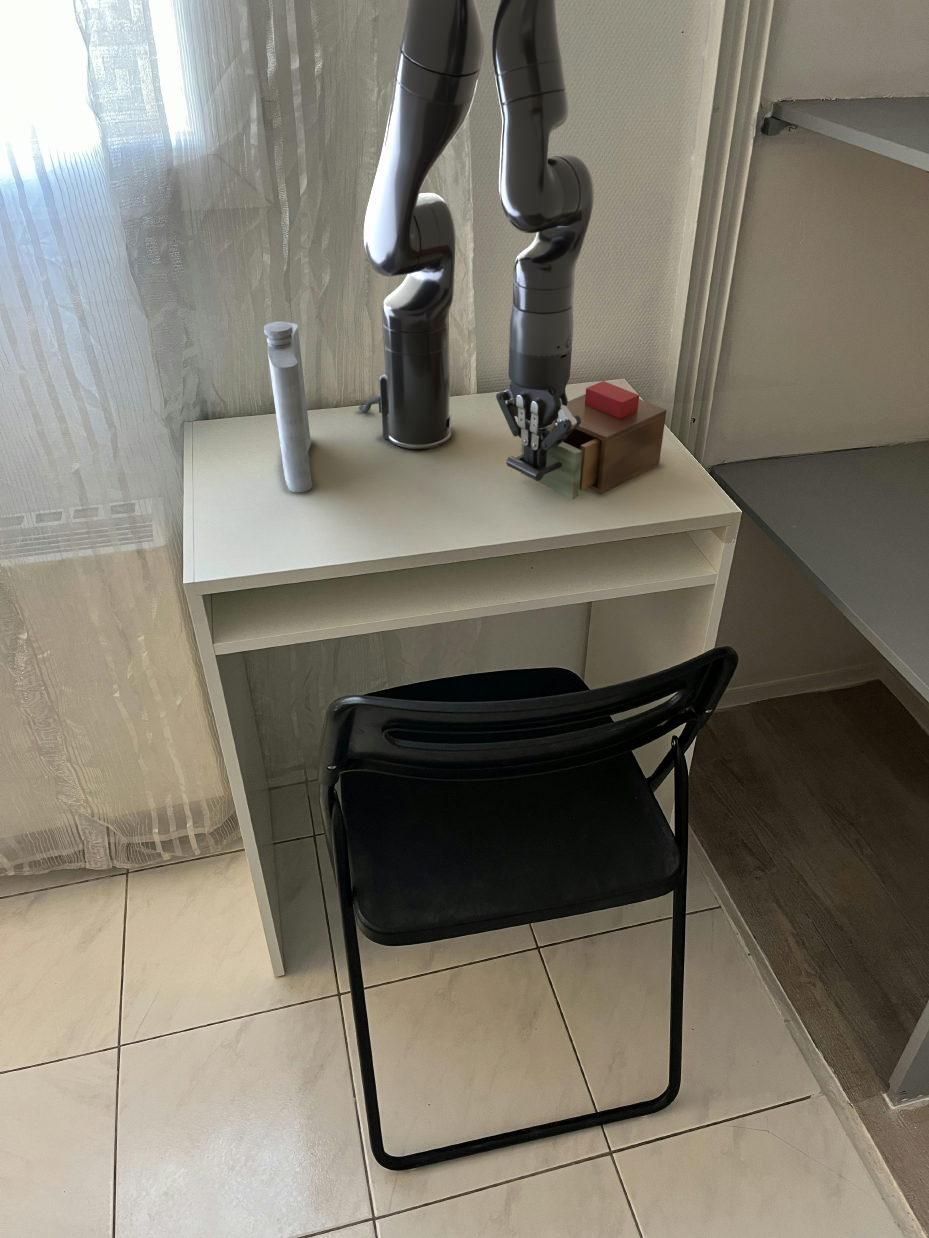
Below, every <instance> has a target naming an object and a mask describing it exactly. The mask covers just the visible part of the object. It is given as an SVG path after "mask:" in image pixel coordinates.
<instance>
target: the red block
mask: <svg viewBox="0 0 929 1238" xmlns="http://www.w3.org/2000/svg"><path fill="white" fill-rule="evenodd" d="M584 395H585V405H588V406H590V407H592V408H595V409H597V410H600V411H602V412H604V413H607V414H609V415H612V416H614V417H616V418H619V419H622V418H624V417H626V416H629V415H631V414H633V413H635V412H637V411H638V403H639V399H640V394H638V393H635V392H632V391H630V390H627V389H625V388H623V387H620V386H618V385H615V384H613V383H610V382H607V381H604V380H602V381H599V382H597V383H594V384H592V385H590V386H587V387H585V394H584Z"/></svg>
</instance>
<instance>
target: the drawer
mask: <svg viewBox="0 0 929 1238" xmlns="http://www.w3.org/2000/svg"><path fill="white" fill-rule="evenodd" d="M556 422H557V420H556ZM556 427H557V426H556V425H555V427H554V429H555V428H556ZM554 429H553V430H554ZM553 430H552V431H553ZM541 437H542V435H541ZM601 444H602V440H600V439H598V438H595V437H593V436H591V435H589V434H586V433H584V432H582V431H580V430H577V429H574V430H573V431H572V432H571V433H570V434H569V436H568V437H567V438H566V439H565V440H564V441H563V442H562V443H561V444H559V445H557V446H554V447H552V448H550V449H548V450H547V461H546V462H547V463H546V467H545V468H543V469H541V470H539V469H537V468H535V467H533V466H531V465H529V464H527V463H525V462H523V458H524V457H523V453H524V445H523V444H522V443H521V447H520V448H521V450H520V451H521V452H520V455H519V456H513V455H509V457H507V459H506V462H505V465H506V466H507V467H509V468H511V469H513V470H515V471H517V472H519V473H520V475H523V476H525V477H527V478H528V479H531V480H533V481H535V482H537V483H539V484H540V485H543V486H544V487H546V488H549V489H550V490H552V491H554V492H556V493H558V494H560V495H563V496H564V497H566V498H569V499H570V500H575V499H577V498H579V497H580V490H581V491H583V490H585V489H588V488H587V487H589V486H591V485H593V484H595V483H597V482H598V476H599V465H600V455H601Z"/></svg>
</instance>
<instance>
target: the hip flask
mask: <svg viewBox="0 0 929 1238" xmlns="http://www.w3.org/2000/svg"><path fill="white" fill-rule="evenodd" d="M263 332H264V335H265V336H266V342H267V357H268V364H269V371H270V379H271V385H272V386H271V387H272V394H273V401H274V408H275V409H274V410H275V416H276V423H277V430H278V437H279V445H280V453H281V462H282V469H283V475H284V480H285V483H286V486H287V489H288V490H289V491H290V492H293V493H305V492H308V491H310V490H311V488H312V487H313V484H312V483H313V482H312V475H311V467H310V466H311V465H310V458H309V451H310V448H311V446H312V441H311V432H310V421H309V413H308V404H307V396H306V388H305V379H304V378H305V376H304V370H303V369H304V368H303V361H302V359H303V358H302V351H301V342H300V334H299V326H298V324H297V323H293V322H288V321H273V322H269V323H266V324H265V325H264V326H263Z"/></svg>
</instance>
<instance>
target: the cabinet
mask: <svg viewBox="0 0 929 1238" xmlns="http://www.w3.org/2000/svg"><path fill="white" fill-rule="evenodd" d="M566 407H567V408H568V410H569V411H570V413H571V414H572V416H575V415H578V416H579V417H580V419H581V423H580V424H579V425H578V426H577V427H576V428H575V429H577V430H580V431H582V432H584V433H586V434H589V435H591V436H593V437H595V438H598V439H600V440H602V444H601V455H600V465H599V476H598V482H597V483H595V484H593V485H591V486H589V487H587V488H586V489H588V490H590V491H592V492H595V493H597V494H599V495H603V494H605V493H607V492H608V491H610V490H613V489H614V488H616V487H618V486H620V485H623V484H624V483H626V482H629V481H630V480H633V479H634V478H636V477H639V476H641V475H643V474H644V473H647V472H648V471H651V470H652V469H654V468H656V467H658V466H660V459H661V453H662V445H663V439H664V432H665V424H666V417H667V409H666V408H664V407H660V406H659V405H656V404H654V403H651V402H648V401H645V400H642V399H640V398H639V403H638V411H637V412H635V413H633V414H631V415H629V416H626V417H624V418H622V419H619V418H616V417H614V416H612V415H609V414H607V413H604V412H602V411H600V410H597V409H595V408H592V407H590V406H588V405H585V394H582V395H580V396H577V397H575V398H573V399H570V400H568V403H567V406H566ZM557 419H558V417H557V418H556V420H557Z"/></svg>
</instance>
